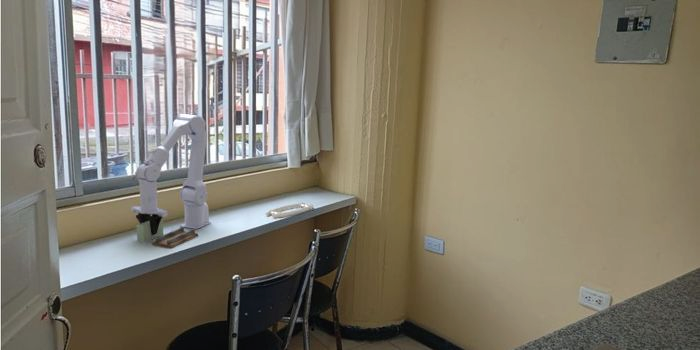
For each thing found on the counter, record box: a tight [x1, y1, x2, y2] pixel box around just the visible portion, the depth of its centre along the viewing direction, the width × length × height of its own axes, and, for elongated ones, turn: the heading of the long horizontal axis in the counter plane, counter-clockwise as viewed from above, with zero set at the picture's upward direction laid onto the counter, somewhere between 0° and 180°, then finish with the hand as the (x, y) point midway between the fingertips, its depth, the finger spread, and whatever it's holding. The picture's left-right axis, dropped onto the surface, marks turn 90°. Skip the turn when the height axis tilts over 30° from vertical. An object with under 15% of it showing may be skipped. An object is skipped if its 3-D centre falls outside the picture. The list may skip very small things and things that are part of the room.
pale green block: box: [136, 218, 164, 243], centre depth 179 cm, size 10×3×6 cm, turn 161°
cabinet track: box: [151, 227, 199, 249], centre depth 177 cm, size 15×8×2 cm, turn 161°
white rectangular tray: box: [265, 201, 314, 219], centre depth 220 cm, size 3×10×25 cm
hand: (150, 233), depth 179 cm, fingers closed on pale green block, 3 cm apart
